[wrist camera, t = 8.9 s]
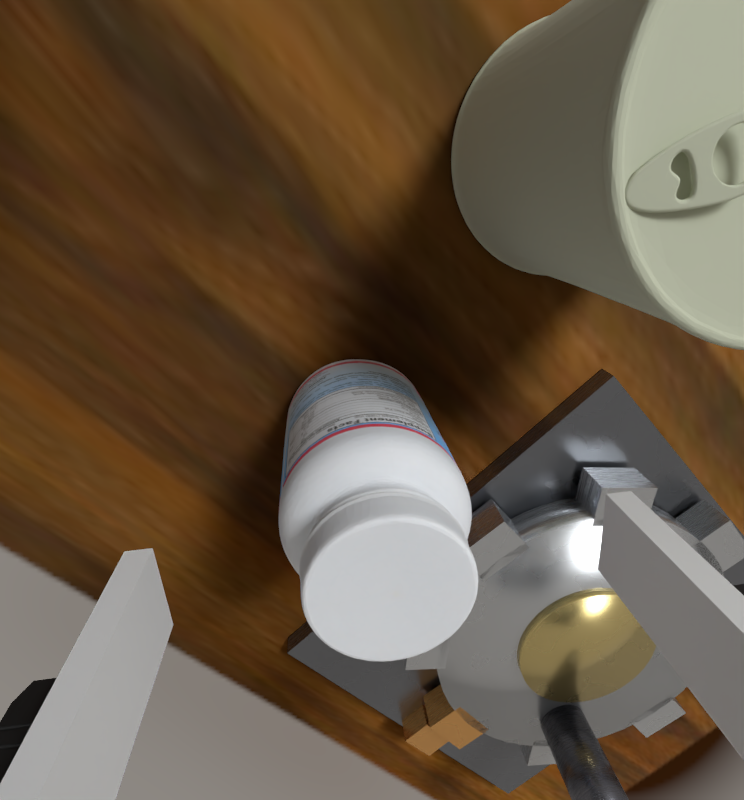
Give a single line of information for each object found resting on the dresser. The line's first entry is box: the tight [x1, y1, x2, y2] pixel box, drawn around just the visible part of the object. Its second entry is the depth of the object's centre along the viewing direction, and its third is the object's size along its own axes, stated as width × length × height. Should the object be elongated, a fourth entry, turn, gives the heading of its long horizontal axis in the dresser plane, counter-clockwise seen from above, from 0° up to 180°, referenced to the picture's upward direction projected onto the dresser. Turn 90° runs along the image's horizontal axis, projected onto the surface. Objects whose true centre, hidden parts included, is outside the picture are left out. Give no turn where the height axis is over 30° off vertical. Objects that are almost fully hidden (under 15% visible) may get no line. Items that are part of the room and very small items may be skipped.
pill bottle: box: [278, 359, 478, 662], centre depth 18 cm, size 6×6×11 cm
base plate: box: [287, 369, 744, 793], centre depth 28 cm, size 19×21×2 cm
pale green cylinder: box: [451, 0, 744, 350], centre depth 15 cm, size 9×9×12 cm
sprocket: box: [403, 467, 744, 800], centre depth 24 cm, size 18×18×8 cm
